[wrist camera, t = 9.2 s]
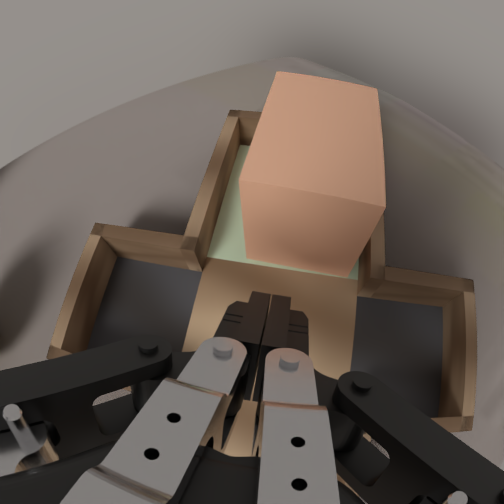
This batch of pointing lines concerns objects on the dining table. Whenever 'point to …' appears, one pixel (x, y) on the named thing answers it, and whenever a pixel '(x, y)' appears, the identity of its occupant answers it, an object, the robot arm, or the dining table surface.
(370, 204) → the block
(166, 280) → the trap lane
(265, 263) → the pad
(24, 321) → the dining table surface
